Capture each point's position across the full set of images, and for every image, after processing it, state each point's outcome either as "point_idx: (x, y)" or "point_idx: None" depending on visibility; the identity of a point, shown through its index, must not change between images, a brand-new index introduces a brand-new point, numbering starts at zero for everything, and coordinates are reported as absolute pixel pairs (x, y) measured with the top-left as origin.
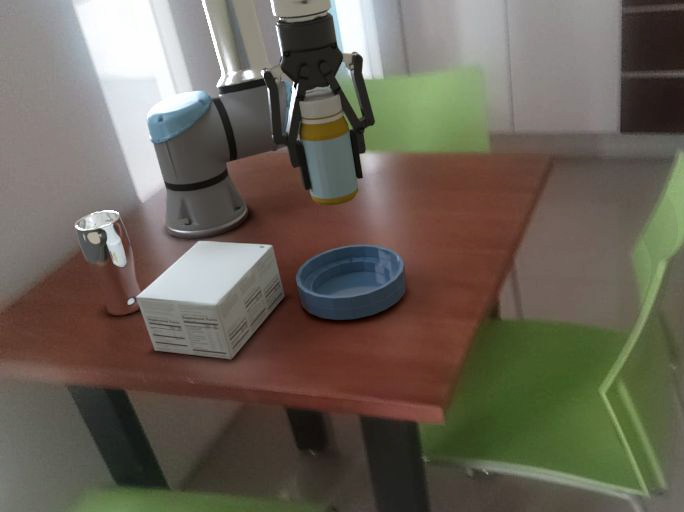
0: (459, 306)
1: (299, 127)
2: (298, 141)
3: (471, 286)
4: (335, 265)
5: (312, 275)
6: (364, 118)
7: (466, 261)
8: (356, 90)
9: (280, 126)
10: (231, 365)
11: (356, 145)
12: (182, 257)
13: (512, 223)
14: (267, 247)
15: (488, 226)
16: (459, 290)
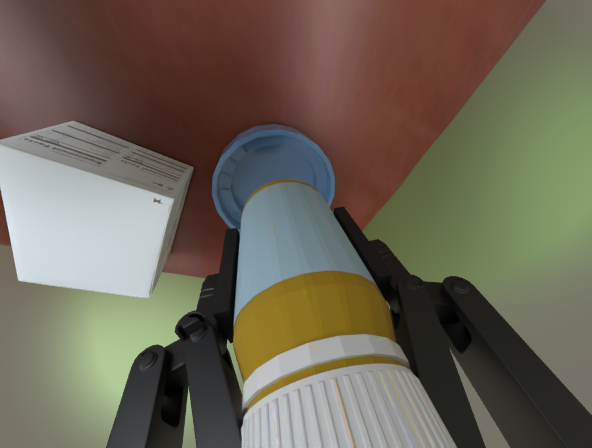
0: (355, 219)
1: (237, 360)
2: (228, 318)
3: (376, 193)
4: (256, 148)
5: (228, 165)
6: (441, 319)
7: (394, 145)
8: (527, 437)
9: (179, 433)
10: (172, 258)
11: None
12: (8, 199)
13: (490, 58)
14: (167, 203)
15: (464, 54)
16: (365, 197)
